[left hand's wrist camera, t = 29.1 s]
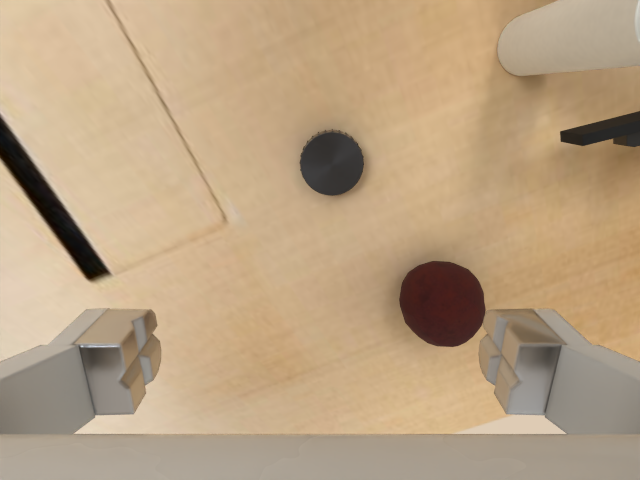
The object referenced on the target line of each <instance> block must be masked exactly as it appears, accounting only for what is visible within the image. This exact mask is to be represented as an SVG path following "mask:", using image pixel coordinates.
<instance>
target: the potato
mask: <svg viewBox="0 0 640 480" xmlns="http://www.w3.org/2000/svg"><path fill="white" fill-rule="evenodd" d="M399 300H400V307H401V310H402V313H403V316H404V320H405V323H406V324H407V325H408V326H409V327H410V328H411V330H412V331H413V332H414V333H415V334H416V335H418V336H419V337H420V338H421V339H423V340H424V341H426V342H427V343H429V344H432V345H435V346H446V347H455V346H459V345H461V344H463V343H465V342H467V341H468V340H469V339H471V338H472V337H473V336H474V335H475V333H476V332H477V331H478V330H479V328H480V327H481V325H482V323H483V320H484V316H485V304H484V293H483V290H482V288H481V285H480V283H479V281H478V279H477V278H476V277H475V276H474V275H473V274H472V273H471V272H470V271H469V270H468V269H466V268H464V267H461V266H459V265H456V264H454V263H451V262H439V261H432V262H429V263H425V264H422V265H419V266H417V267H416V268H414V269H413V270H411V271H410V272H409V273H408V274H407V276H406V277H405V279H404V281H403V282H402V287H401V293H400V299H399Z"/></svg>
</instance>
